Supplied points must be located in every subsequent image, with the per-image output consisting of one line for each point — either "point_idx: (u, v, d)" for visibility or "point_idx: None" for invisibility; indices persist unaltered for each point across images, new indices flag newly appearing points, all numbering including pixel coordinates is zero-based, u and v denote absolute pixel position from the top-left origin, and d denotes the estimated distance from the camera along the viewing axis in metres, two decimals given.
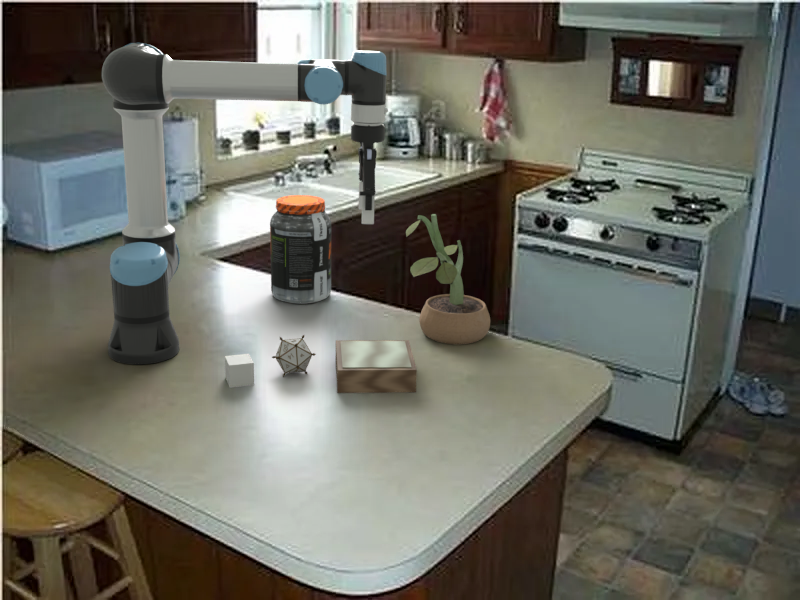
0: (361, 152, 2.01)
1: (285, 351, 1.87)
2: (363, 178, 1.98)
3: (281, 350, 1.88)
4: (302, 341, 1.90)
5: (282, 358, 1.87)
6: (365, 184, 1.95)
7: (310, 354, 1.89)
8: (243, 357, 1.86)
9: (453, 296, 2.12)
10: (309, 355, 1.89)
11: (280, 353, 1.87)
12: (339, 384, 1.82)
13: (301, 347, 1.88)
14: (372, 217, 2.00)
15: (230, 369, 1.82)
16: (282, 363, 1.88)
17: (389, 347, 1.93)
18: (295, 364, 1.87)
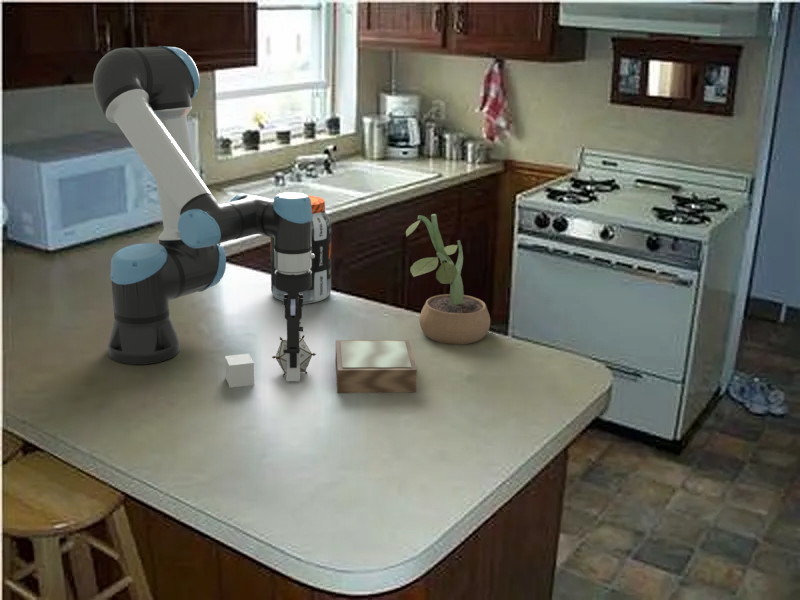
0: (286, 302, 1.84)
1: None
2: None
3: (281, 350, 1.88)
4: (302, 341, 1.90)
5: (282, 358, 1.87)
6: (288, 343, 1.81)
7: (310, 354, 1.89)
8: (243, 357, 1.86)
9: (453, 296, 2.12)
10: (309, 355, 1.89)
11: (280, 353, 1.87)
12: (339, 384, 1.82)
13: (301, 347, 1.88)
14: (298, 374, 1.86)
15: (230, 369, 1.82)
16: (282, 363, 1.88)
17: (389, 347, 1.93)
18: None
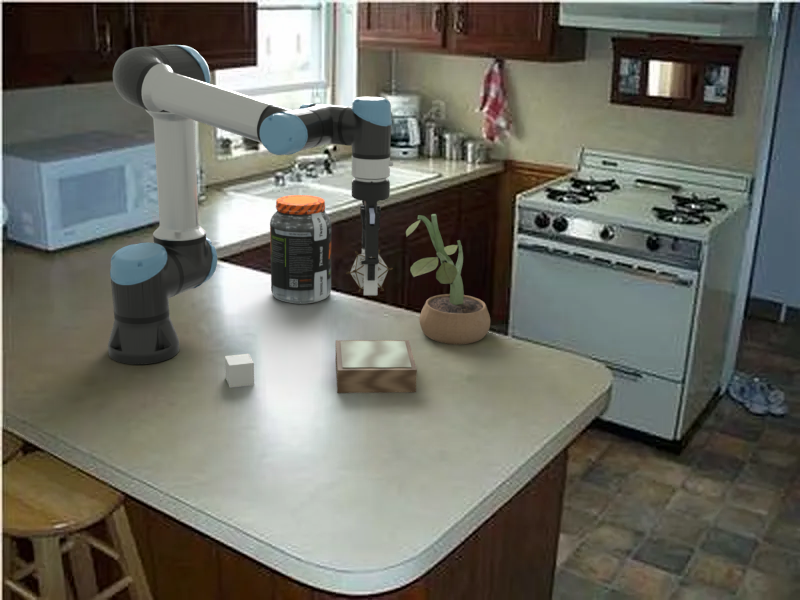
0: (363, 212, 1.77)
1: (361, 264, 1.80)
2: (365, 244, 1.76)
3: (357, 264, 1.81)
4: (378, 255, 1.83)
5: (359, 272, 1.80)
6: (367, 253, 1.74)
7: (387, 268, 1.82)
8: (243, 357, 1.86)
9: (453, 296, 2.12)
10: (386, 269, 1.82)
11: (356, 267, 1.81)
12: (339, 384, 1.82)
13: None
14: (375, 287, 1.79)
15: (230, 369, 1.82)
16: (358, 277, 1.81)
17: (389, 347, 1.93)
18: None
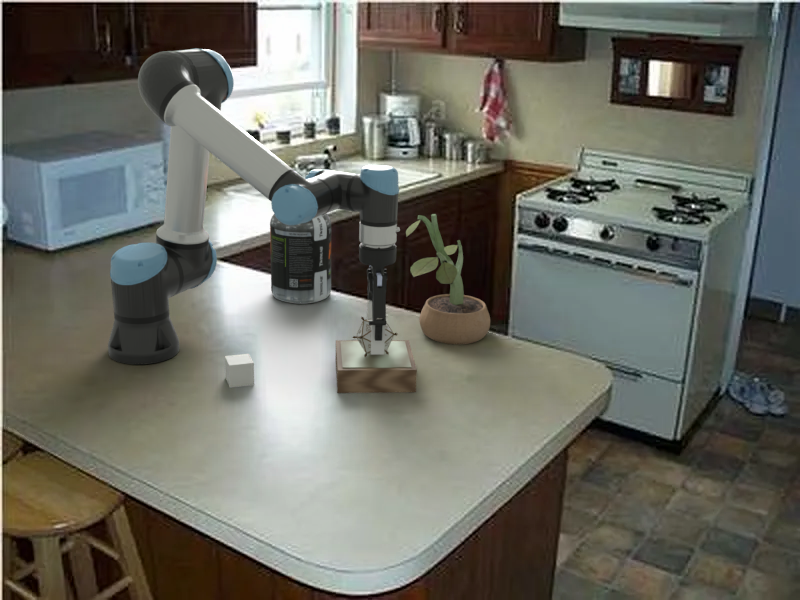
0: (370, 275, 1.82)
1: (367, 330, 1.86)
2: (372, 305, 1.79)
3: (363, 330, 1.86)
4: None
5: (365, 338, 1.85)
6: (375, 314, 1.77)
7: (392, 334, 1.87)
8: (243, 357, 1.86)
9: (453, 296, 2.12)
10: (391, 335, 1.87)
11: (363, 333, 1.86)
12: (339, 384, 1.82)
13: None
14: (382, 347, 1.81)
15: (230, 369, 1.82)
16: (364, 343, 1.86)
17: (389, 347, 1.93)
18: None
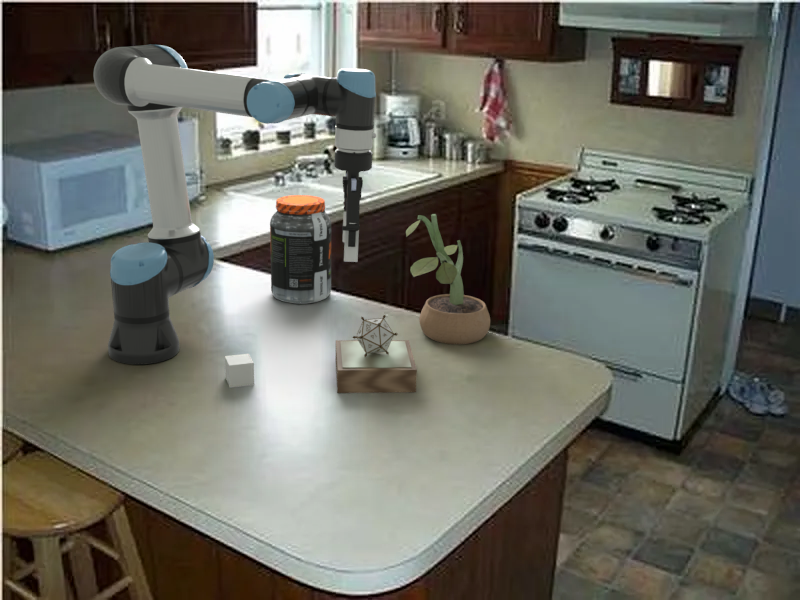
0: (345, 181, 1.80)
1: (367, 330, 1.85)
2: (346, 211, 1.78)
3: (363, 330, 1.86)
4: (384, 321, 1.88)
5: (365, 338, 1.85)
6: (348, 218, 1.75)
7: (392, 334, 1.87)
8: (243, 357, 1.86)
9: (453, 296, 2.12)
10: (391, 335, 1.87)
11: (363, 333, 1.86)
12: (339, 384, 1.82)
13: (384, 326, 1.86)
14: (356, 254, 1.80)
15: (230, 369, 1.82)
16: (364, 343, 1.86)
17: (389, 347, 1.93)
18: (378, 343, 1.85)
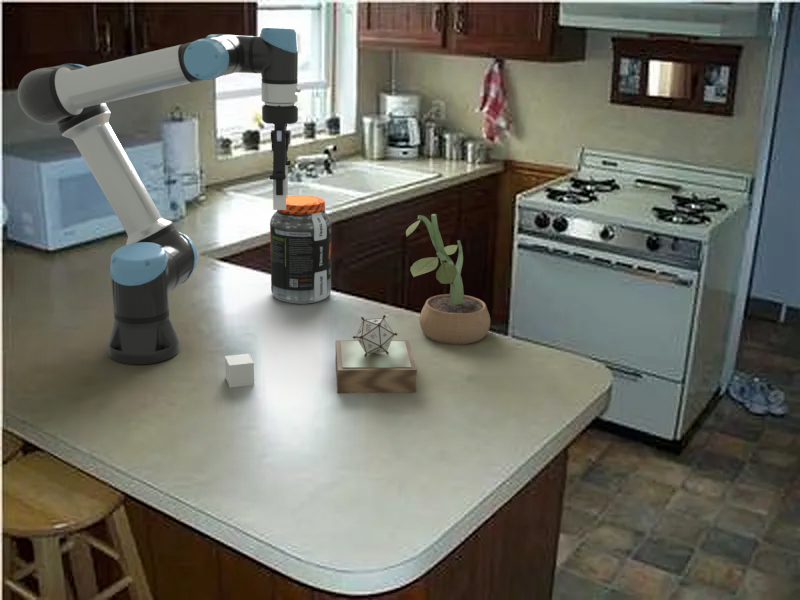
0: (273, 134, 1.90)
1: (367, 330, 1.86)
2: None
3: (363, 330, 1.86)
4: (384, 321, 1.88)
5: (365, 338, 1.85)
6: (274, 167, 1.85)
7: (392, 334, 1.87)
8: (243, 357, 1.86)
9: (453, 296, 2.12)
10: (391, 335, 1.87)
11: (363, 333, 1.86)
12: (339, 384, 1.82)
13: (384, 326, 1.86)
14: (284, 202, 1.90)
15: (230, 369, 1.82)
16: (364, 343, 1.86)
17: (389, 347, 1.93)
18: (378, 343, 1.85)
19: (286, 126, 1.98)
